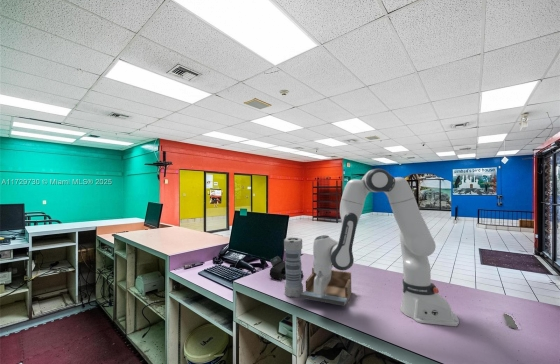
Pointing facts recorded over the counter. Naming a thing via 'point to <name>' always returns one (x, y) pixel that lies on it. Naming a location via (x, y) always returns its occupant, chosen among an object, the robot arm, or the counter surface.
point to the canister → (293, 266)
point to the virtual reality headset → (279, 269)
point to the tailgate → (324, 298)
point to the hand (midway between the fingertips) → (323, 296)
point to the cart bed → (334, 284)
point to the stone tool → (510, 321)
